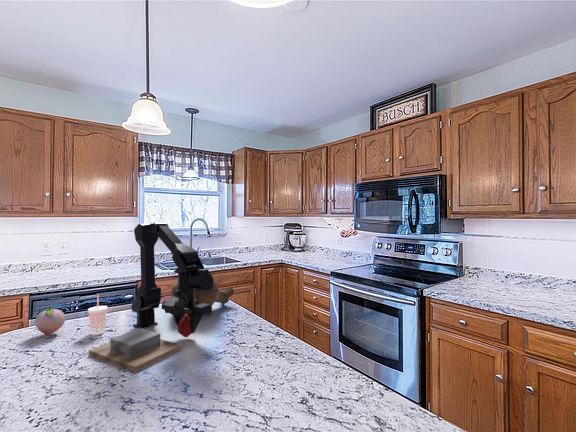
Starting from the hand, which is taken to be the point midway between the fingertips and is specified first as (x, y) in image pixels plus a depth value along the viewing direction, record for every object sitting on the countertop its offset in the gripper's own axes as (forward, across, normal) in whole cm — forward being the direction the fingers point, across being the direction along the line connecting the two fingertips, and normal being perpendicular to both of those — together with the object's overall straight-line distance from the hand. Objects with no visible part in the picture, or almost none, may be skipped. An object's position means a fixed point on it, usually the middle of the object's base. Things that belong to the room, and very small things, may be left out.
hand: (186, 331), depth 105 cm
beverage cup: (+3, -33, -11) cm, 35 cm away
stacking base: (+3, -6, -15) cm, 16 cm away
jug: (+3, -16, +25) cm, 30 cm away
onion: (+2, 0, 0) cm, 2 cm away
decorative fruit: (+3, -46, -20) cm, 50 cm away
